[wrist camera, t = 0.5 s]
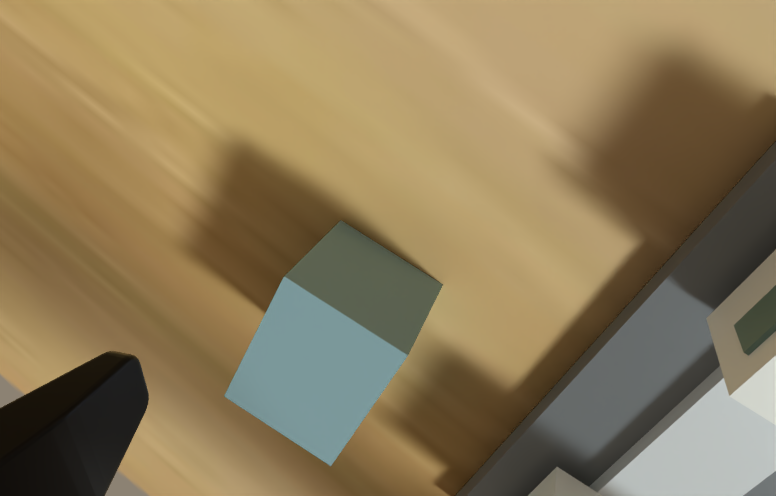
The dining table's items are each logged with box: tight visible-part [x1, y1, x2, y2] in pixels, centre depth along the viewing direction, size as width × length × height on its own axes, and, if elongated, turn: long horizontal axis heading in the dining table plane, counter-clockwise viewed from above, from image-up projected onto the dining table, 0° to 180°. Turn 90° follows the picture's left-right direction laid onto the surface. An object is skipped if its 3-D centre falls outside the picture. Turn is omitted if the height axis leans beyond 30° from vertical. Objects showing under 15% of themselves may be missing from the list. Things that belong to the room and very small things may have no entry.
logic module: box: [224, 221, 443, 466], centre depth 23 cm, size 6×5×5 cm
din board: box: [456, 141, 776, 496], centre depth 20 cm, size 20×10×6 cm, turn 152°
